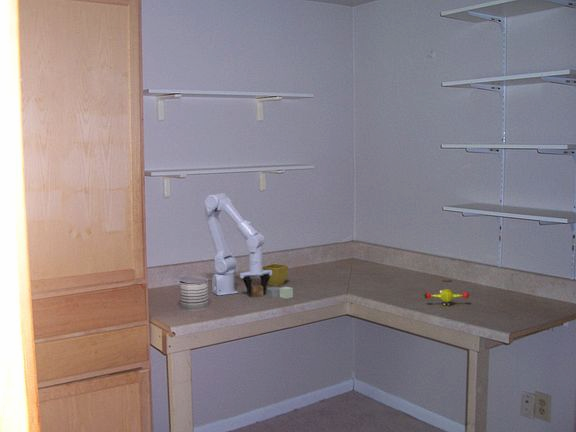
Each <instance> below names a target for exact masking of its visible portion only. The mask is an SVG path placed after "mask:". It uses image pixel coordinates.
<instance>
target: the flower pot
mask: <svg viewBox="0 0 576 432" xmlns="http://www.w3.org/2000/svg"><path fill="white" fill-rule="evenodd" d="M263 270H272V275H269V276H270V279H269V281H268V283H267V285H269V286H272V287H279V286H282V285H284V283H285V281H286V280H287V277H288V272H289V271H288V270H289V265H287V264H286V265H285V264H278V263H272V264H271V263H270V264H268V265H264V266H263Z"/></svg>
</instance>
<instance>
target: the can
mask: <svg viewBox="0 0 576 432" xmlns="http://www.w3.org/2000/svg"><path fill="white" fill-rule="evenodd" d="M208 280H209V279H208V278H205V277H204V276H203V277H202V276H198V275H197V276H194V275H187V276H186V275H185V276H183V277H182V276H181V277H180V278H179V295H180V296H179V299H180V309H181V311H188V312H198V311H204V310H206V309H208V308H209V281H208Z"/></svg>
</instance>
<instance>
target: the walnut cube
mask: <svg viewBox="0 0 576 432" xmlns="http://www.w3.org/2000/svg"><path fill="white" fill-rule="evenodd" d="M248 295H249V297H251V298H252V299H253V298H254V299H255V298H261V297H264V292H263V286H261V284H251V294H248Z"/></svg>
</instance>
